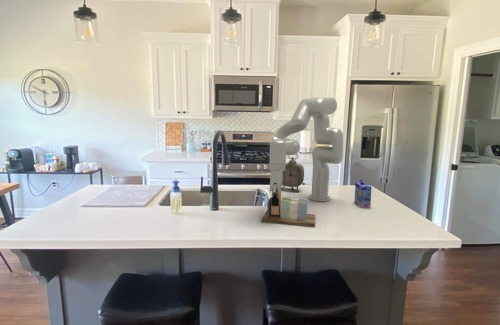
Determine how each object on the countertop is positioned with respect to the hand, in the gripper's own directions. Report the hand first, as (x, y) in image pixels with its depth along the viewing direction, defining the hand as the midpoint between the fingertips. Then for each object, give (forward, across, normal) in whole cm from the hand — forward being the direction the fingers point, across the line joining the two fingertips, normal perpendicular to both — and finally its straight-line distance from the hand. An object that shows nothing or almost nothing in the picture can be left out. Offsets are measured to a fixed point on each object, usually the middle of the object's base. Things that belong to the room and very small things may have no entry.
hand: (276, 203), depth 140 cm
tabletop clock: (+8, -56, +2) cm, 57 cm away
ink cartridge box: (+8, -34, +43) cm, 56 cm away
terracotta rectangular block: (+4, 0, 0) cm, 4 cm away
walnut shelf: (+8, 0, +6) cm, 10 cm away
